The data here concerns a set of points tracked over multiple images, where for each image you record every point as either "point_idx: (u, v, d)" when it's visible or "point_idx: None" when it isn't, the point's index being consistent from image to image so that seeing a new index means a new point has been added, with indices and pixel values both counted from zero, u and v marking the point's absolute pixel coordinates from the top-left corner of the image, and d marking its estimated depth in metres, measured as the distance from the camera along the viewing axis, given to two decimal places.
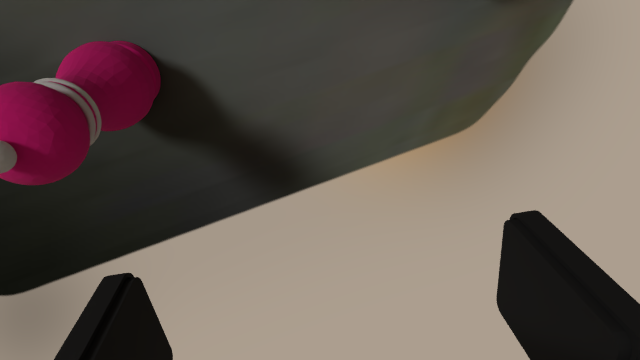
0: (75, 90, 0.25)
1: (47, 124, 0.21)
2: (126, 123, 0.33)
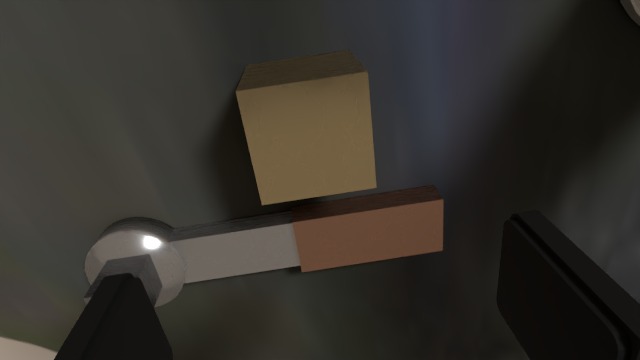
0: None
1: None
2: None
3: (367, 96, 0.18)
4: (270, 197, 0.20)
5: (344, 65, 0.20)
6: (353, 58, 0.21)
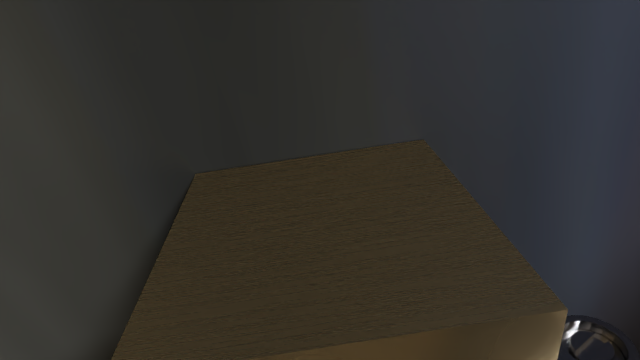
0: None
1: None
2: None
3: None
4: None
5: (449, 230, 0.07)
6: (457, 187, 0.08)
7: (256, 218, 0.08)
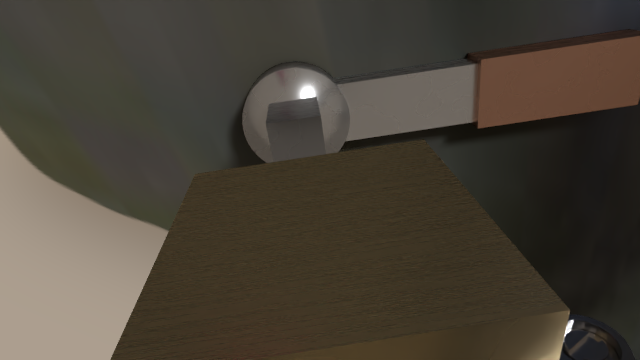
0: None
1: None
2: None
3: None
4: None
5: (450, 230, 0.07)
6: (457, 187, 0.08)
7: (256, 218, 0.08)
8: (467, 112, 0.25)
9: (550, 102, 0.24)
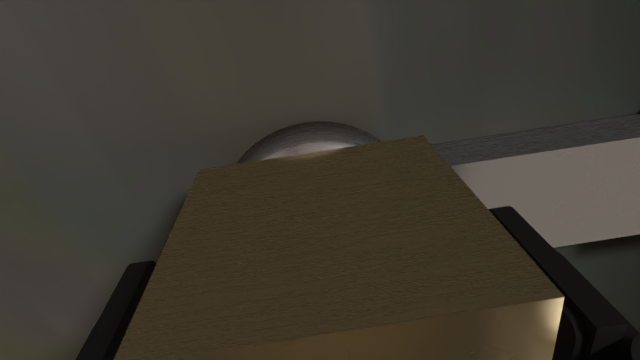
0: None
1: None
2: None
3: (546, 357, 0.06)
4: None
5: (449, 222, 0.07)
6: (456, 181, 0.08)
7: (259, 212, 0.08)
8: None
9: None
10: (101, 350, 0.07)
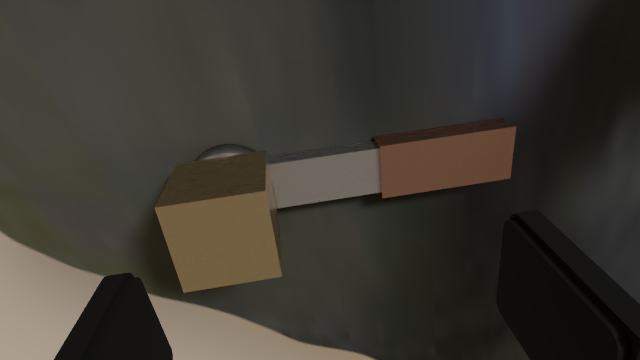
0: None
1: None
2: None
3: (267, 208, 0.22)
4: (190, 286, 0.24)
5: (252, 177, 0.24)
6: (263, 166, 0.25)
7: (197, 176, 0.25)
8: (373, 185, 0.30)
9: (439, 177, 0.30)
10: None
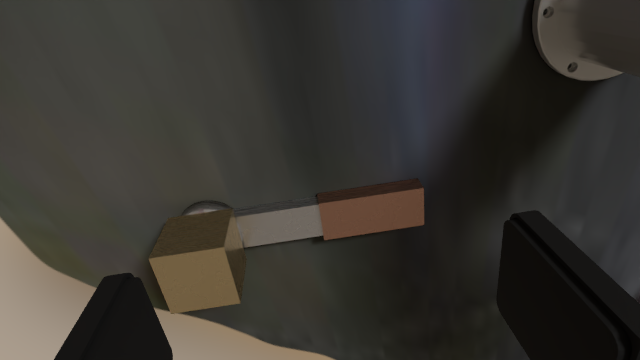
0: None
1: None
2: None
3: (225, 258, 0.32)
4: (175, 309, 0.34)
5: (217, 234, 0.33)
6: (227, 224, 0.34)
7: (180, 231, 0.34)
8: (317, 230, 0.39)
9: (367, 225, 0.39)
10: None
